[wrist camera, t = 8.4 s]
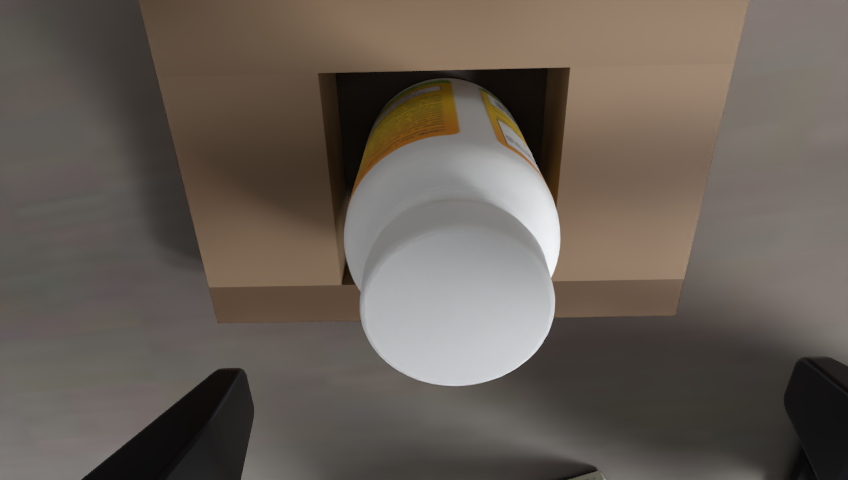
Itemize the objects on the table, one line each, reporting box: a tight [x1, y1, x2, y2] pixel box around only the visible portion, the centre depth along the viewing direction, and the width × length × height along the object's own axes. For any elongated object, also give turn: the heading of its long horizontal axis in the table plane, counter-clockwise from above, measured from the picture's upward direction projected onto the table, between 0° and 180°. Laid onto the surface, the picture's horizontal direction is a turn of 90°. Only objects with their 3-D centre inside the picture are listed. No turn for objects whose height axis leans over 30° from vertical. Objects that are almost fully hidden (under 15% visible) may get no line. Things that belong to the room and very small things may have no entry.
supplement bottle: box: [344, 78, 560, 386], centre depth 15 cm, size 5×5×10 cm
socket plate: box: [138, 0, 749, 323], centre depth 13 cm, size 17×18×12 cm
